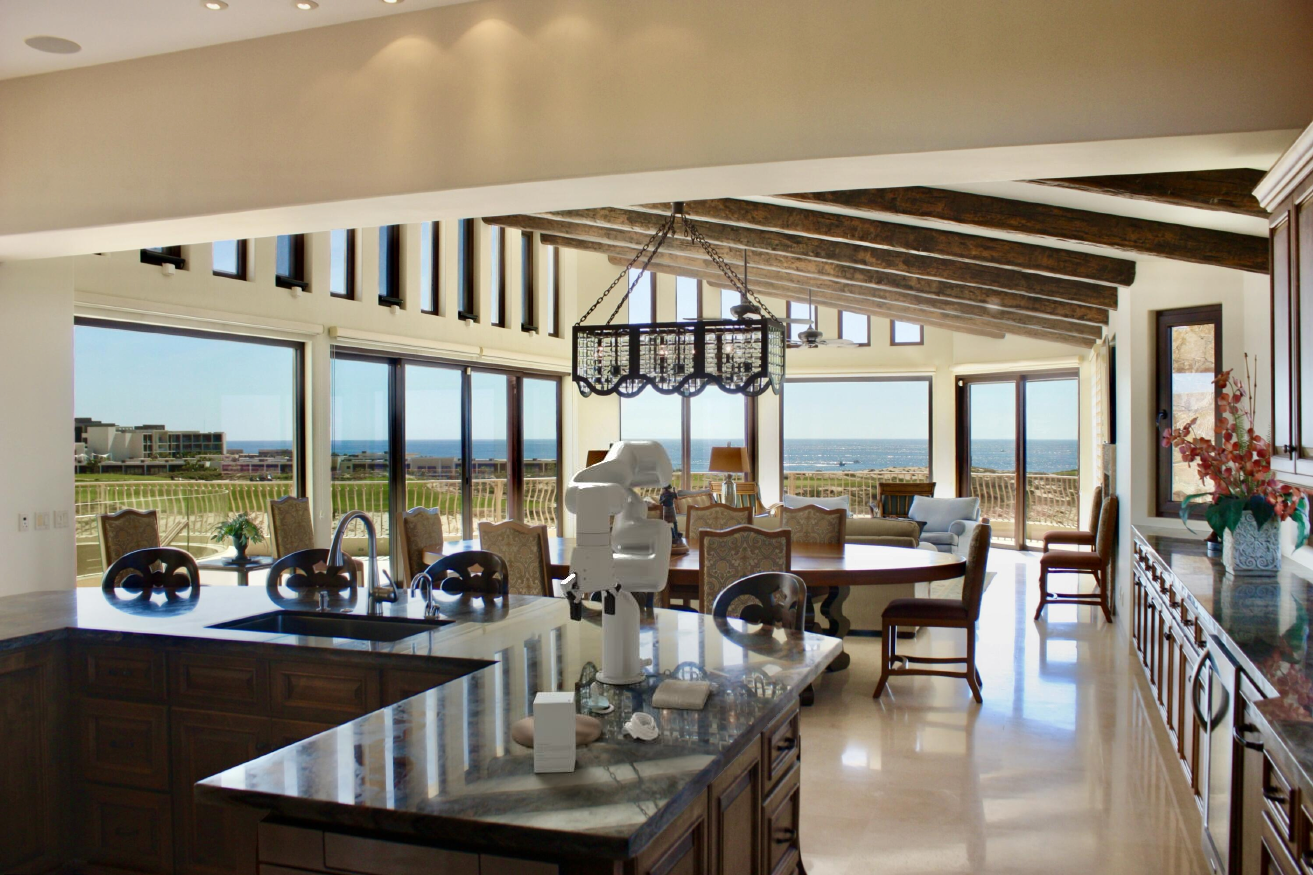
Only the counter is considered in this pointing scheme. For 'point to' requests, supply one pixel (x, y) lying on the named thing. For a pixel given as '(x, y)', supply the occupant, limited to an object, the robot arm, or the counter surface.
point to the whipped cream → (641, 727)
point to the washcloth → (681, 694)
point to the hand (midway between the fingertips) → (593, 617)
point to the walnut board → (584, 730)
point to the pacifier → (598, 701)
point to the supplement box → (554, 732)
